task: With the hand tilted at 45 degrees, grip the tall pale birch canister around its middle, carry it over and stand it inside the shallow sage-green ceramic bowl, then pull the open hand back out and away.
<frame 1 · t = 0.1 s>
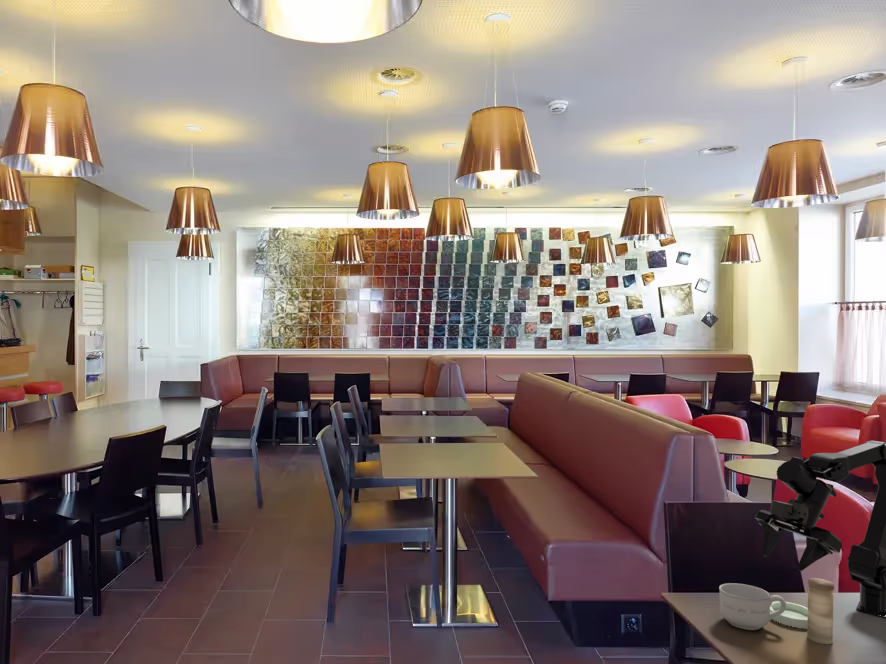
hand: (781, 562, 142), 15 cm above the table, tool tilted 35°, fingers open, 9 cm apart
teacup: (751, 626, 142), on the table
bowl: (791, 618, 147), on the table
canister: (819, 638, 137), on the table
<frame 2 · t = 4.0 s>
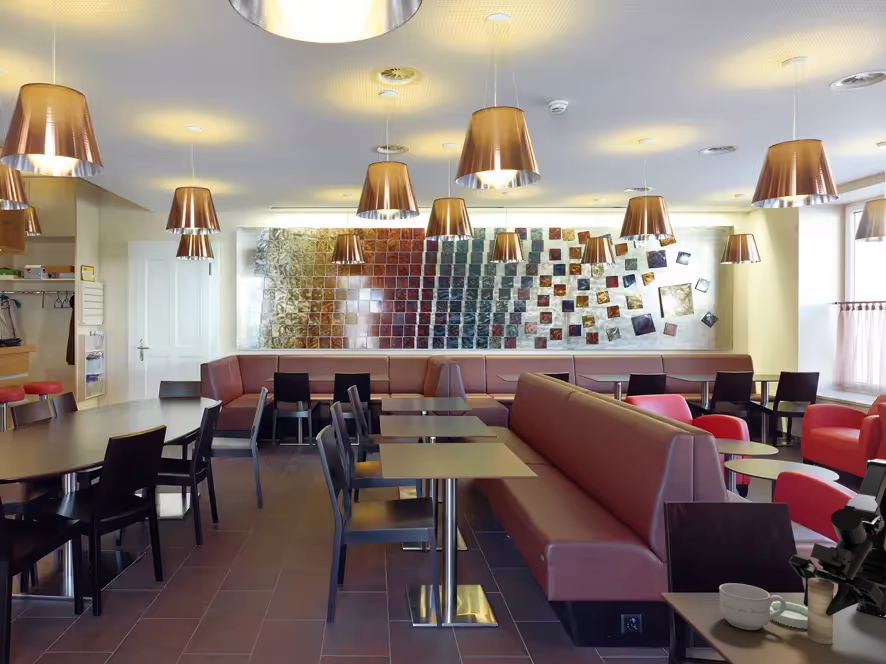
hand: (816, 609, 136), 7 cm above the table, tool tilted 45°, fingers closed on canister, 5 cm apart
canister: (819, 638, 137), on the table, touching gripper
everything else where it was.
when the fingers open (8 cm above the table, at t = 7.4 s): canister drops 1 cm, resting on bowl.
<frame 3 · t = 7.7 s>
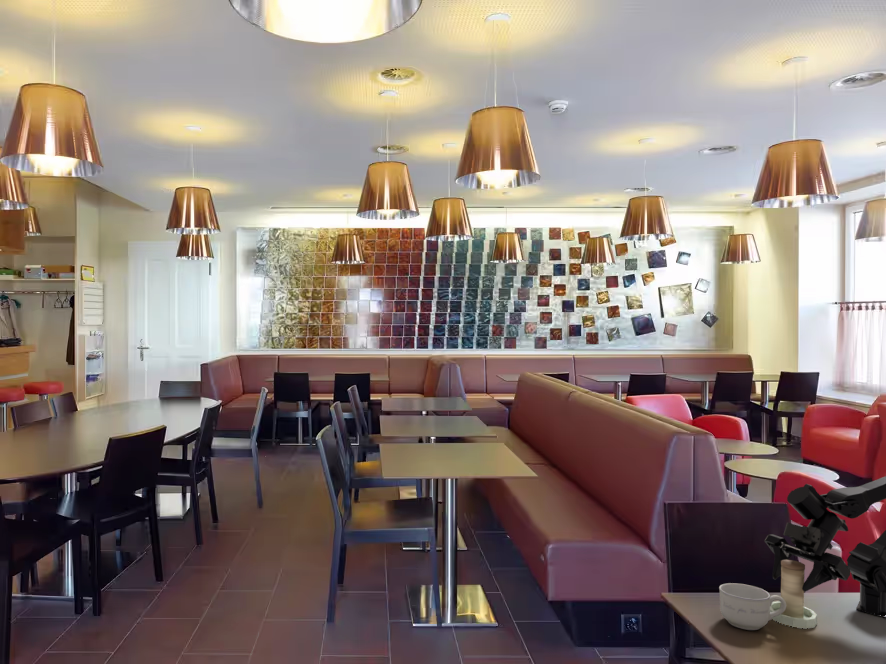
hand: (788, 584, 146), 8 cm above the table, tool tilted 45°, fingers open, 7 cm apart
canister: (791, 616, 147), point 1 cm above the table, touching bowl
everything else where it was.
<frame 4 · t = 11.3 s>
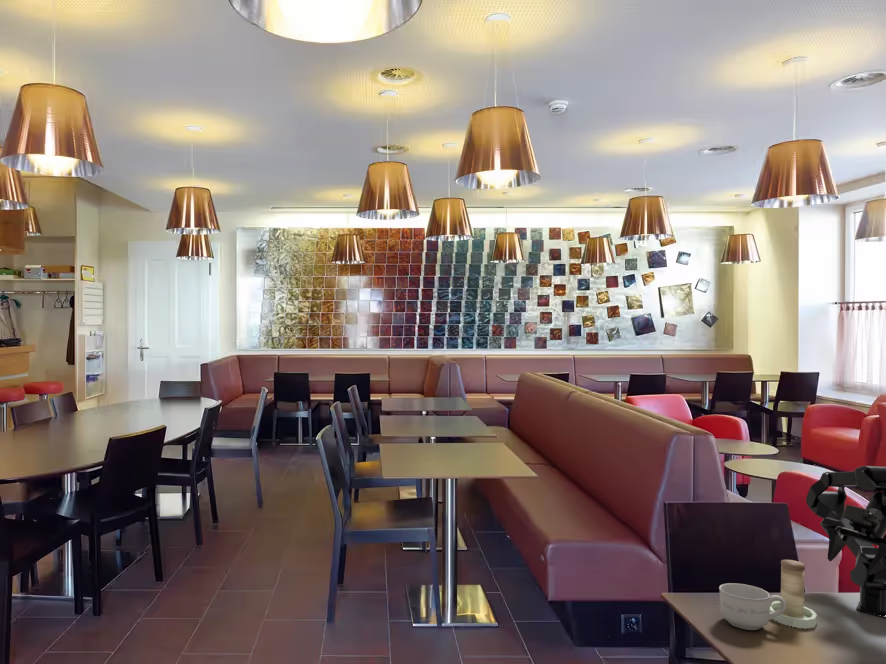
hand: (848, 566, 144), 14 cm above the table, tool tilted 45°, fingers open, 9 cm apart
nothing on the table moved.
at the end: canister 0.1 cm off-centre on the bowl, point 0.6 cm above the bowl's base; canister tilted 0°; the gripper is holding nothing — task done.
